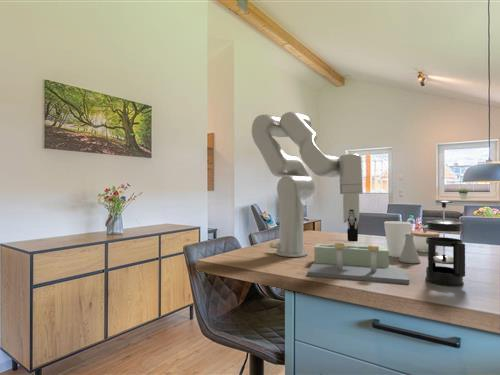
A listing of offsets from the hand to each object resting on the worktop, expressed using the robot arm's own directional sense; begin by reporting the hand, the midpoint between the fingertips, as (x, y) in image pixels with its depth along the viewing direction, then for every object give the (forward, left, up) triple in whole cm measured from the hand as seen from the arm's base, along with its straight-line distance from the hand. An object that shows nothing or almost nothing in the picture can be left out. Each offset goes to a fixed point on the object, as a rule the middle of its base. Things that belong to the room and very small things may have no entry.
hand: (353, 239), depth 114 cm
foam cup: (+16, +21, -9) cm, 28 cm away
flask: (+19, +11, -9) cm, 24 cm away
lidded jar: (+28, +35, -9) cm, 46 cm away
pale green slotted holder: (-1, 0, -9) cm, 9 cm away
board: (+1, -13, -9) cm, 15 cm away
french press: (+25, -14, -9) cm, 30 cm away
